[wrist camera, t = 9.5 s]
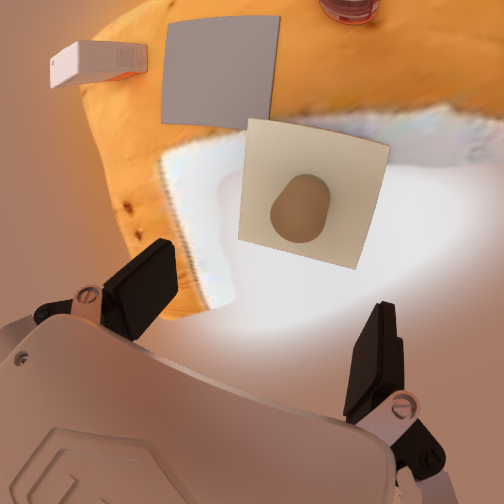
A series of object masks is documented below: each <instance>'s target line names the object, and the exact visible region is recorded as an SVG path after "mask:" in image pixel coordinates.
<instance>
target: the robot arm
mask: <svg viewBox="0 0 504 504" xmlns="http://www.w3.org/2000/svg"><path fill="white" fill-rule="evenodd" d="M103 285H104V288H103V289H102V290H101V288H99V287H98V286H96V285H87V286H84V287H81V288H80V289H79V290H77V292H76V293H75V295H74V298H73V299H70V300H65V301H59V302H53V303H47V304H44V305H42V306H40V307H39V308H38V309H37V310H36V311H35V313H34V316H33V317H32V315H28V316H26V317H24V318H22V319H19V320H17V321H15V322H12V323H10V324H8V325H6V326H4V327H2V328H1V329H0V504H392V501H393V496H394V490H395V486H397V487H399V488H400V491H401V495H400V499H401V504H458V501H457V498H456V495H455V492H454V489H453V486H452V483H451V480H450V477H449V475H448V472H446V473H445V472H444V469H443V467H444V465H445V462H446V455H445V451H444V450H443V448H442V447H441V445H440V444H439V443H438V442H437V441H436V439H435V438H434V437H433V436H432V434H431V433H430V432H429V431H428V430H427V428H426V427H425V426H424V425H423V424H422V422H421V421H420V420H419V419H418V416H419V414H420V404H419V401H418V399H417V398H416V397H415V396H414V395H413V394H412V393H410V392H408V391H404V352H403V339H402V338H400V337H397V329H396V315H395V314H396V313H395V305H394V304H392V303H388V302H384V301H382V302H381V303H380V304H378V303H377V304H376V305H375V307H374V309H373V311H372V313H371V315H370V317H369V319H368V321H367V323H366V325H365V327H364V328H363V330H362V332H361V334H360V336H359V338H358V340H357V342H356V344H355V346H354V349H353V355H352V362H351V369H350V376H349V383H348V389H347V395H346V401H345V406H344V411H343V416H347V417H346V422H344V421H341V420H337V419H334V418H330V417H327V416H323V415H319V414H315V413H312V412H308V411H305V410H301V409H298V408H294V407H291V406H288V405H284V404H281V403H278V402H275V401H271V400H268V399H265V398H262V397H259V396H256V395H253V394H250V393H248V392H245V391H242V390H239V389H237V388H234V387H231V386H229V385H226V384H223V383H221V382H218V381H216V380H213V379H211V378H208V377H206V376H203V375H201V374H199V373H196V372H194V371H192V370H189V369H187V368H185V367H182V366H180V365H178V364H176V363H174V362H172V361H170V360H167V359H165V358H163V357H161V356H159V355H157V354H155V353H153V352H151V351H149V350H147V349H145V348H143V347H141V346H139V345H137V344H135V343H133V341H134V340H137V339H138V338H139V337H140V336H141V335H142V334H143V333H144V331H145V330H146V329H147V328H148V327H149V326H150V324H151V323H152V322H153V321H154V320H155V319H156V317H157V316H158V315H159V314H160V313H161V312H162V311H163V309H164V308H165V307H166V306H167V305H168V304H169V303H170V301H171V300H172V299H173V298H174V297H175V296H176V294H177V292H178V282H177V271H176V259H175V247H174V245H172V242H171V241H169V240H166V239H162V238H159V239H157V240H156V241H155V242H154V243H152V244H151V245H150V246H149V247H147V248H146V249H145V250H144V251H142V252H141V253H140V254H139V255H138V256H136V257H135V258H134V259H133V260H131V261H130V262H129V263H128V264H127V265H125V266H124V267H123V268H122V269H121V270H120V271H118V272H117V273H116V274H115V275H114V276H113V277H111V278H110V279H109V280H108V281H107V282H106V283H104V284H103Z"/></svg>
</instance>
